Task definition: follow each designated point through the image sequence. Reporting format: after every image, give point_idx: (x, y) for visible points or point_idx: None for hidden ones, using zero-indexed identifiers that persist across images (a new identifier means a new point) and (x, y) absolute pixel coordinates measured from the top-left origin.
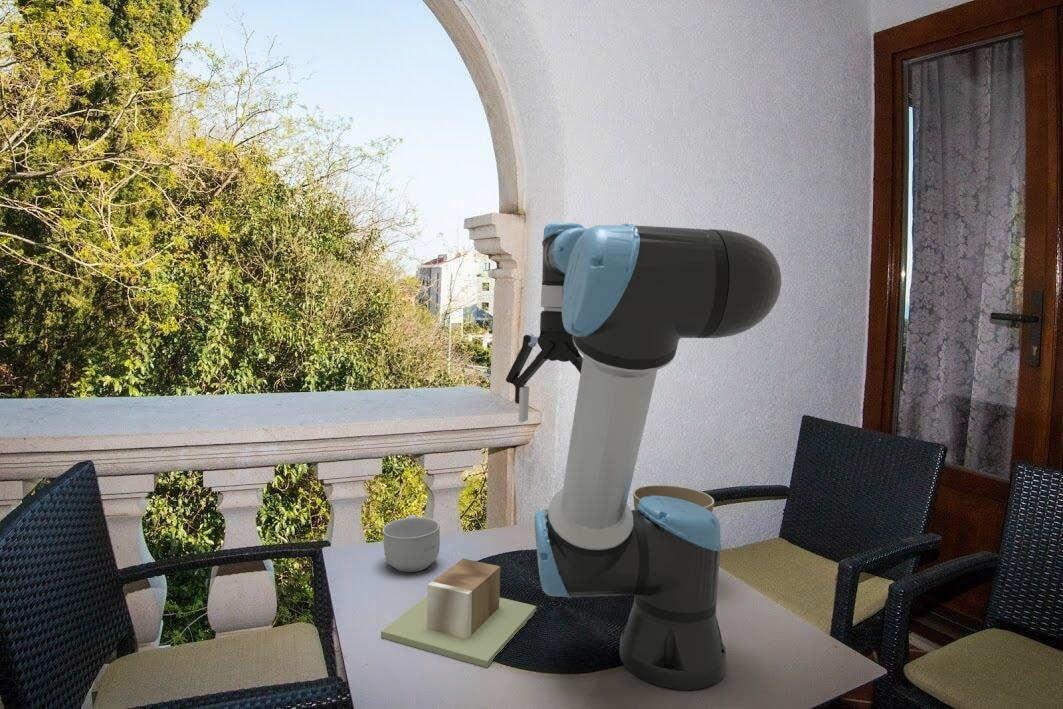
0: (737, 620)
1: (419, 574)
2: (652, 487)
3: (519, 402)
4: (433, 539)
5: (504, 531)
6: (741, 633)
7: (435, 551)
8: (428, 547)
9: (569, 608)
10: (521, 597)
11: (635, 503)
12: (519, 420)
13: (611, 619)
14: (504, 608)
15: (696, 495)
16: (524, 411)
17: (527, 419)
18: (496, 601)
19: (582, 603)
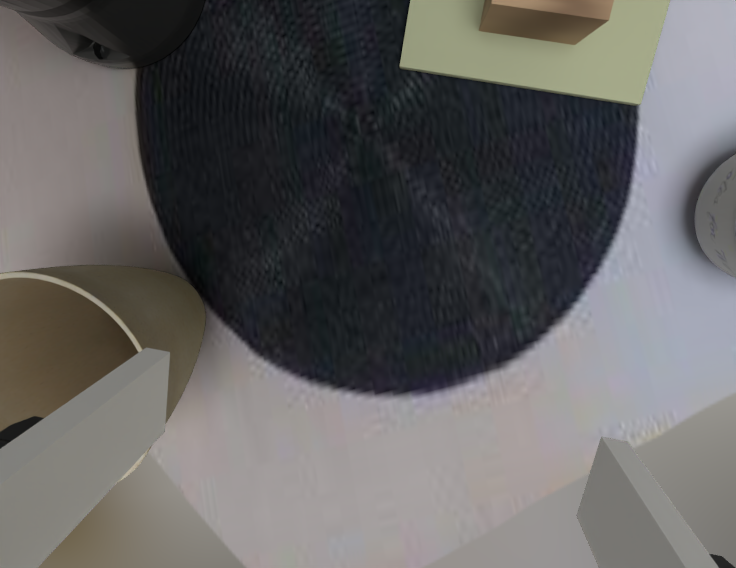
0: (25, 165)
1: (714, 166)
2: None
3: (692, 534)
4: (732, 194)
5: (563, 463)
6: (14, 114)
7: (706, 200)
8: (733, 175)
9: (335, 108)
10: (445, 126)
11: (152, 344)
12: (626, 447)
13: (246, 89)
14: (465, 29)
15: None
16: (617, 507)
17: (580, 512)
18: (484, 8)
19: (314, 140)
